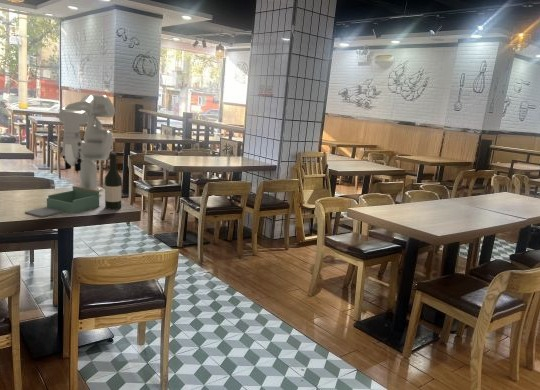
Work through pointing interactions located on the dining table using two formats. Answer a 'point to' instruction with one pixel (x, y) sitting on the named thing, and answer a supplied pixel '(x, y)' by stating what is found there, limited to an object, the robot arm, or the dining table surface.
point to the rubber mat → (43, 212)
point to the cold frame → (74, 200)
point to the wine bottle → (112, 186)
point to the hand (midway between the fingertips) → (73, 169)
